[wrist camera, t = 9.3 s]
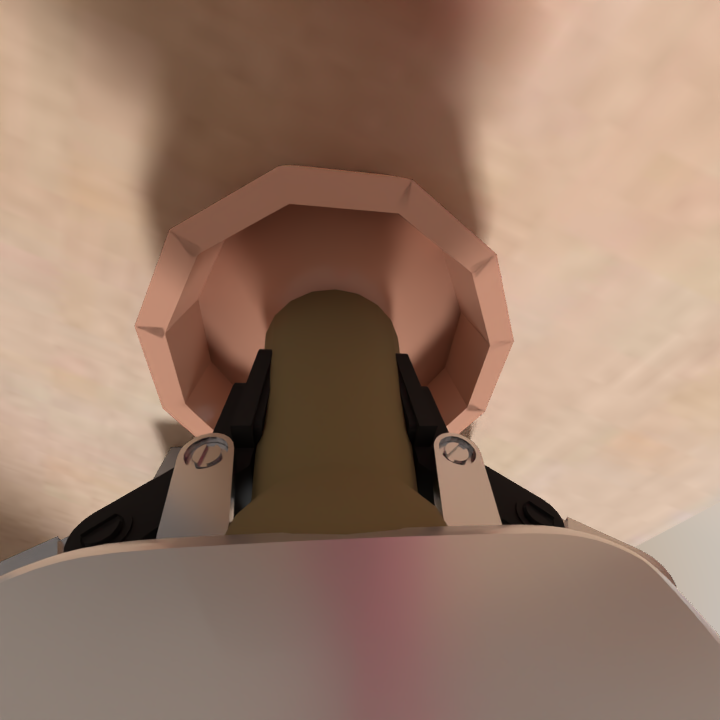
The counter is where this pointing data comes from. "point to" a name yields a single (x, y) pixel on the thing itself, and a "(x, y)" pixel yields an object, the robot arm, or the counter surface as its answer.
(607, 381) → the counter surface
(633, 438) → the counter surface
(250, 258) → the bowl
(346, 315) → the olive pestle
